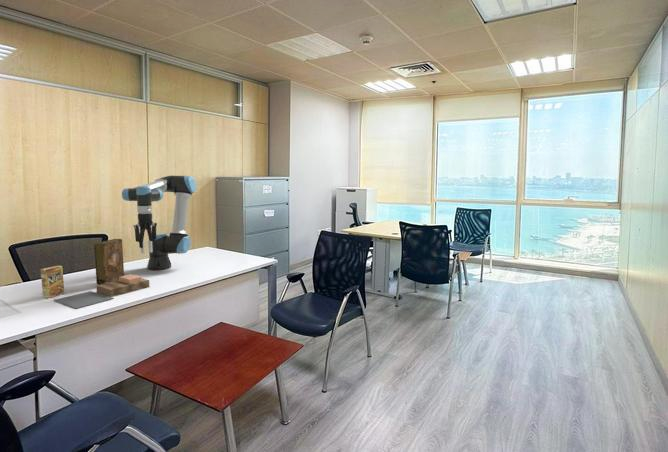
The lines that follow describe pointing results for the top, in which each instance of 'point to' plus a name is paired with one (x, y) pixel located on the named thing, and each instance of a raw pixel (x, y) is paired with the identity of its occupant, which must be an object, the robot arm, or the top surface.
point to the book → (108, 261)
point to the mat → (83, 299)
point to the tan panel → (120, 287)
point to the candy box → (52, 281)
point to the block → (130, 279)
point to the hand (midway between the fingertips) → (146, 252)
